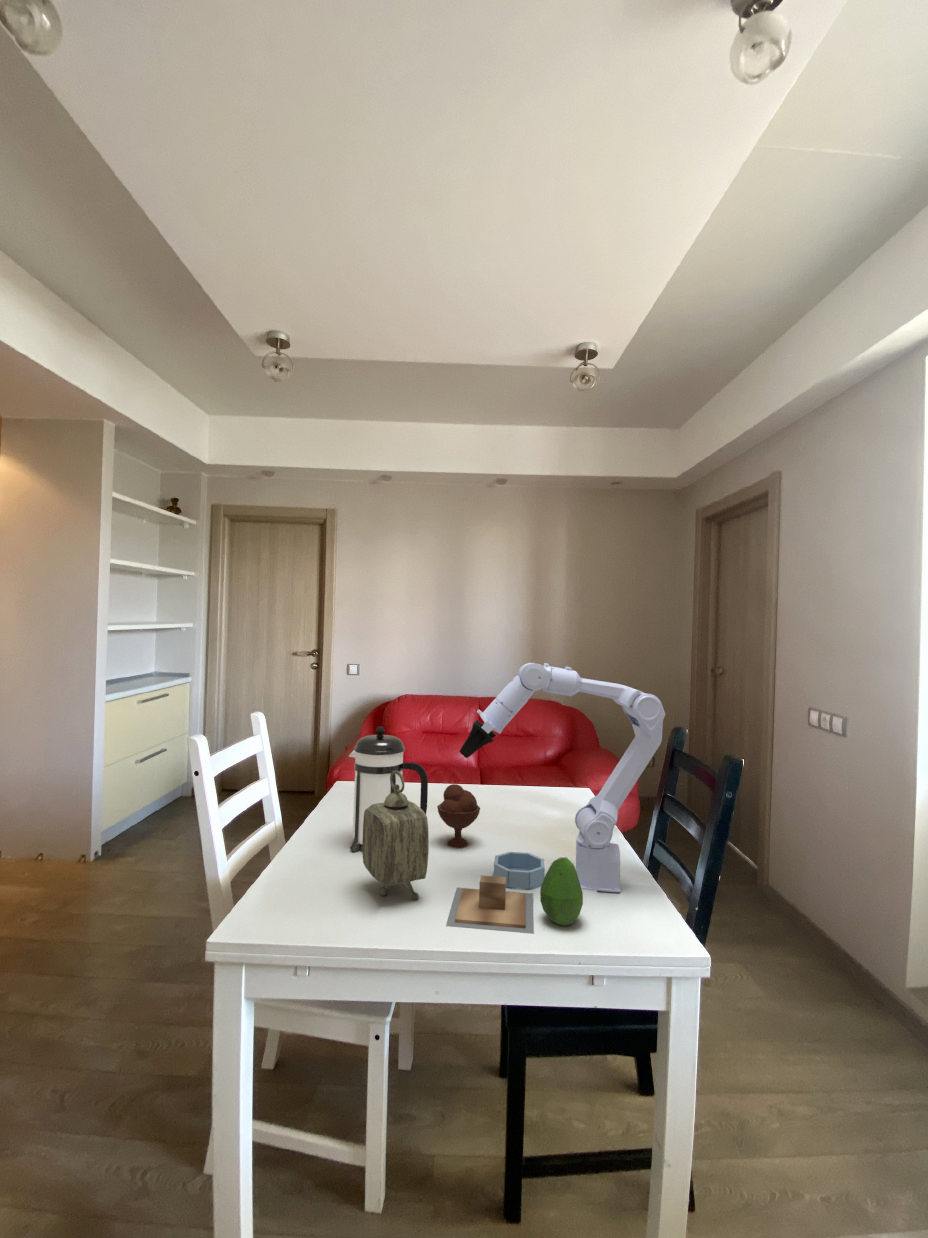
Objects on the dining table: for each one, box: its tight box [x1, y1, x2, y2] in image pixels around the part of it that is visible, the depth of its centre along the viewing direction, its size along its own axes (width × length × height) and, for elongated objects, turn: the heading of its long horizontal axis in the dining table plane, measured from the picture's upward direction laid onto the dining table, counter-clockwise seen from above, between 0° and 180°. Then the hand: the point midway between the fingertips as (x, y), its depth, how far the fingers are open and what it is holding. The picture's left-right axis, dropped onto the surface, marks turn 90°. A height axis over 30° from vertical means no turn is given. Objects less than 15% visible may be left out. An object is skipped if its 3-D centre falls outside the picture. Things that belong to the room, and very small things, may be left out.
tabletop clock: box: [362, 770, 430, 902], centre depth 116 cm, size 14×9×25 cm, turn 30°
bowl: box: [493, 851, 546, 891], centre depth 124 cm, size 11×11×4 cm
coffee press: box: [348, 725, 429, 853], centre depth 143 cm, size 17×16×30 cm
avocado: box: [539, 857, 584, 927], centre depth 106 cm, size 8×8×12 cm
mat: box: [445, 887, 535, 935], centre depth 110 cm, size 16×16×1 cm
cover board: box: [455, 875, 527, 928], centre depth 110 cm, size 13×13×6 cm
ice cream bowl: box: [436, 783, 481, 849], centre depth 145 cm, size 11×11×15 cm
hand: (464, 753), depth 124 cm, fingers open, 7 cm apart
